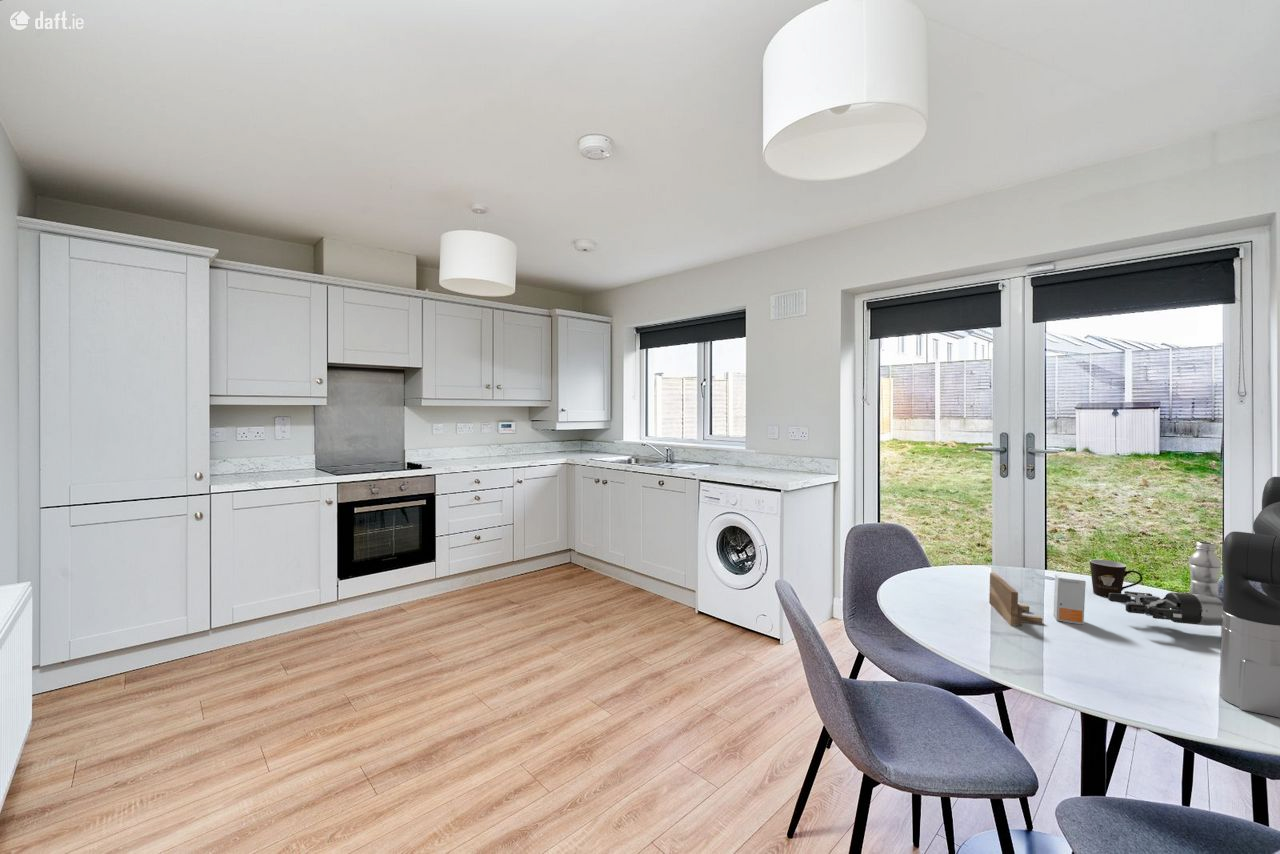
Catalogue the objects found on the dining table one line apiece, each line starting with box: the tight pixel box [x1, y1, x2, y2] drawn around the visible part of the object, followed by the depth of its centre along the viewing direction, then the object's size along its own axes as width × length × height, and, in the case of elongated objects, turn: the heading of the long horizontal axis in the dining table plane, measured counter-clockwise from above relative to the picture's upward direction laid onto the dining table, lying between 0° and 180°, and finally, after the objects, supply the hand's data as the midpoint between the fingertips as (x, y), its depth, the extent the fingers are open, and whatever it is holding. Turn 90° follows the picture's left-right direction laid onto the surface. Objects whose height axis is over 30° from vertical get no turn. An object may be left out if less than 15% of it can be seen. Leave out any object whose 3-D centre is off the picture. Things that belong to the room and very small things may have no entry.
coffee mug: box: [1089, 558, 1144, 599], centre depth 167 cm, size 12×9×10 cm
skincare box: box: [1053, 573, 1086, 625], centre depth 147 cm, size 6×4×12 cm
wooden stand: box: [988, 572, 1043, 627], centre depth 151 cm, size 8×18×9 cm, turn 163°
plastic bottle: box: [1187, 541, 1223, 597], centre depth 153 cm, size 6×7×20 cm
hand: (1117, 602), depth 144 cm, fingers open, 8 cm apart
